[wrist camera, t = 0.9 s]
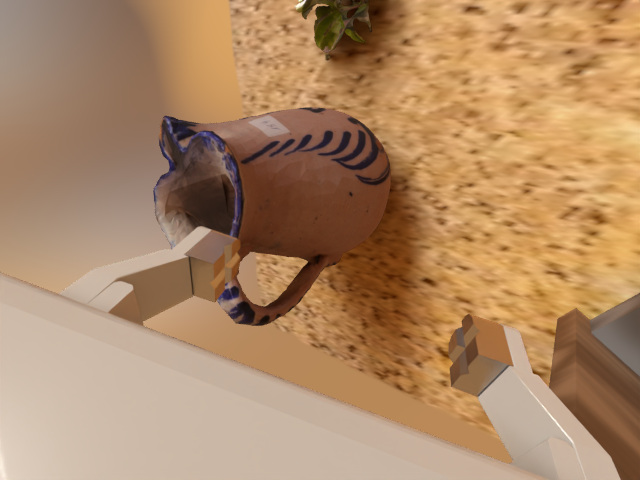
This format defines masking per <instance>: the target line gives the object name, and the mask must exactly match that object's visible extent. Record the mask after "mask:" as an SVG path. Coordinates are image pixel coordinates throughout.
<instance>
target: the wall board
mask: <svg viewBox="0 0 640 480" xmlns="http://www.w3.org/2000/svg"><path fill="white" fill-rule="evenodd" d="M549 388H550V389H551V391H552V392H553V393H554V394H555V395H556V396H557V397H558V398H559V399H560V401H561V402H562V403H563V404H564V405H565V406H566V407H567V408H568V410H569V411H570V412H571V413H572V414H573V415H574V416H575V417H576V418H577V420H578V421H579V422H580V423H581V424H582V425H583V426H584V427H585V429H586V430H587V431H588V432H589V433H590V434H591V435H592V436H593V438H594V439H595V440H596V441H597V442H598V443H599V444H600V445H601V446H602V448H603V449H604V450H605V451H606V452H607V453H608V454H609V455H610V457H611V458H612V461H613V463H614V465H615V468H616V470H617V472H618V475H619V477H620V479H621V480H640V293H639V294H637V295H635V296H634V297H632V298H630V299H628V300H626V301H625V302H623V303H621V304H619V305H617V306H615V307H614V308H612V309H610V310H608V311H606V312H605V313H603V314H601V315H599V316H597V317H595V318H594V319H592V320H589V319H588V318H587V317H586V316H585V315H583V314H582V313H581V312H580V311H579V310H578V309H577V308H576V309H574V310H572V311H570V312H569V313H567V314H565V315H564V316H562V317H560V318H559V319H558V320H557V328H556V336H555V344H554V352H553V360H552V369H551V377H550V385H549Z"/></svg>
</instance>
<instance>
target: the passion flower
mask: <svg viewBox="0 0 640 480" xmlns="http://www.w3.org/2000/svg"><path fill="white" fill-rule="evenodd" d="M298 1H299V2H300V3H299V4H298V5H296V6H295V8H296V10H297V12H302V16H303V18H304V19H307V18H306V17H307V15H308V14H309V12H310V10H312V7H313V6H315V5H316V4H327V5H329V6H327V7H326V6H319V7H317V8H316V10H315V12H316V17H317V20H316V21H315V25H314V31H315V37H314V38H315V42H316V44H317V46H318V47H319V48H320V49H321V50H324V52H325V59H326V60H329V59H330V58H331V57H330V56H329V52H330V51H332V50H333V49H335V47H336V45H337V43H338V41H339V40H340V39H341V37H342V35H343V33H344V32H346V34H347V35H349V36H350V37H351V38H352V39H353V40H355V41H357V42H361V43H362V42H364V43H365V42H366V41H365V40H364V39H363V38H362V37H361V36H360V35H359V34H358V33H357V32H356V31H355V29H354V27H353V20H354V19H355V18H357V19H358V20H359V21H361V22H362V21H363V22H365V23H367V25H368V26H369V30H370V32H372V29H371V24H370V21H369V15H368V6H369V2H368V0H361V1H360V2H356V1H354V0H351V1H352V4H351V5H350V6H344V5H343V4H342V3H341V0H298ZM354 8H358V10H357V11H356V12H355V14H354V15H353V16H352V17H351V18H350V19H348V18H347V12H348V11H349V10H350V9H354ZM342 30H343V31H342ZM329 50H330V51H329Z"/></svg>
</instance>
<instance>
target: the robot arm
mask: <svg viewBox="0 0 640 480" xmlns="http://www.w3.org/2000/svg"><path fill="white" fill-rule="evenodd" d="M239 249H240V240H239V239H237V238H235V237H232V236H229V235H226V234H223V233H220V232H218V231H215V230H211V229H208V228H205V227H203V226H200V227H197V228H196V229H195V230H194V231H192V232H191V233H190V234H189V235H188V236H187V237H186V238H184V239H183V240H182V241H181V242H180V243H179V244H177V245H176V246H175V247H174V248H173V249H172V250H168V249H166V250H162V251H158V252H154V253H151V254H147V255H143V256H139V257H136V258H133V259H129V260H125V261H121V262H118V263H114V264H110V265H107V266H103V267H99V268H95V269H92V270H91V271H90V272H88V273H87V274H85V275H84V276H83V277H81V278H80V279H78V280H77V281H75V282H74V283H73V284H71V285H70V286H69V287H67V288H66V289H64V290H63V291H62V292H60V293H59V294H57V293H54V292H52V291H49V290H46V289H44V288H41V287H39V286H36V285H33V284H31V283H28V282H25V281H23V280H20V279H17V278H15V277H12V276H9V275H7V274H4V273H1V272H0V480H621V479H620V477H619V475H618V472H617V470H616V468H615V465H614V463H613V461H612V458H611V457H610V455H609V454H608V453H607V452H606V451H605V450H604V449H603V448H602V446H601V445H600V444H599V443H598V442H597V441H596V440H595V439H594V438H593V436H592V435H591V434H590V433H589V432H588V431H587V430H586V429H585V427H584V426H583V425H582V424H581V423H580V422H579V421H578V420H577V418H576V417H575V416H574V415H573V414H572V413H571V412H570V411H569V410H568V408H567V407H566V406H565V405H564V404H563V403H562V402H561V401H560V399H559V398H558V397H557V396H556V395H555V394H554V393H553V392H552V391H551V389H550V388H549V387H548V386H547V385H546V384H545V383H544V382H543V380H542V379H541V378H540V377H539V376H538V375H535V374H533V372H532V369H531V366H530V363H529V360H528V357H527V354H526V350H525V347H524V344H523V341H522V338H521V335H520V332H519V331H518V330H517V329H516V328H512V327H509V326H506V325H503V324H498V323H495V322H492V321H489V320H486V319H483V318H480V317H477V316H474V315H470V314H468V315H467V316H465V317H464V319H463V320H462V328H459V329H456V330H455V332H454V333H453V335H452V336H451V339H450V342H449V357H450V359H451V360H452V362H453V365H452V366H451V367H450V377H451V387H454V388H456V389H459V390H462V391H464V392H467V393H469V394H472V395H475V396H477V397H478V400H479V402H480V403H481V405H482V407H483V409H484V411H485V412H486V414H487V416H488V418H489V419H490V421H491V423H492V425H493V426H494V428H495V430H496V432H497V433H498V435H499V437H500V439H501V441H502V442H503V444H504V446H505V448H506V449H507V451H508V453H509V455H510V456H511V458H512V460H513V462H511V463H510V464H508V463H505V462H502V461H500V460H497V459H494V458H492V457H489V456H486V455H484V454H481V453H478V452H476V451H473V450H470V449H468V448H465V447H462V446H459V445H457V444H454V443H452V442H449V441H447V440H444V439H441V438H439V437H436V436H433V435H431V434H428V433H425V432H422V431H420V430H417V429H415V428H412V427H409V426H407V425H404V424H401V423H399V422H396V421H393V420H391V419H388V418H386V417H383V416H380V415H377V414H375V413H372V412H370V411H367V410H364V409H362V408H359V407H356V406H353V405H351V404H348V403H346V402H343V401H340V400H338V399H335V398H332V397H330V396H327V395H324V394H322V393H319V392H316V391H314V390H311V389H308V388H306V387H303V386H301V385H298V384H295V383H293V382H290V381H287V380H285V379H282V378H279V377H277V376H274V375H272V374H269V373H266V372H264V371H261V370H258V369H256V368H253V367H250V366H248V365H245V364H242V363H240V362H237V361H235V360H232V359H229V358H227V357H224V356H221V355H219V354H216V353H213V352H211V351H208V350H205V349H203V348H200V347H197V346H195V345H192V344H190V343H187V342H184V341H182V340H179V339H176V338H174V337H171V336H168V335H165V334H163V333H160V332H158V331H155V330H152V329H150V328H147V327H145V326H143V321H145V320H147V319H149V318H151V317H153V316H155V315H157V314H159V313H161V312H163V311H165V310H167V309H169V308H171V307H173V306H175V305H177V304H179V303H181V302H183V301H185V300H187V299H189V298H191V297H193V295H194V296H197V297H200V298H203V299H206V300H209V301H212V302H216V301H217V299H218V298H219V297H220V295H221V294H222V293H223V292H224V290H225V284H226V283H228V282H231V281H232V280H233V278H234V277H235V276H236V273H237V271H238V269H239V265H240V256H239V255H238V253H237V252H238V250H239Z"/></svg>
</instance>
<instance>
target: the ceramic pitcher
mask: <svg viewBox="0 0 640 480" xmlns="http://www.w3.org/2000/svg"><path fill="white" fill-rule="evenodd" d="M159 145H160V148H161V151H162V154H163V156H164V157H165V158H166V159H167V160H169V166H170V168H169V172H168V173H166V174H164V175H162V176H161V177H160V179H159V180H158V182H157V184H156V186H155V188H154V201H155V214H156V218H157V221H158V222H159V224H160V226H161V229H162V231H163V232H164V233H165V235H166V238H167V240H168V242H169V243H170V245H171V250H172V249H173V248H174V247H175V246H176V245H177V244H179V243H180V242H181V241H182V240H183V239H184V238H186V237H187V236H188V235H189V234H190V233H191V232H192V231H194V230H195V229H196V228H197V227H200V226H203V227H205V228H208V229H211V230H215V231H218V232H220V233H223V234H226V235H229V236H232V237H235V238H237V239H239V240H240V249H239V250H238V252H237V253H238V255H239V256H240V261H242V259H243V258H244V257H245V256H246V255H248V254H249V252H256V253H264V254H272V255H280V256H286V257H299V258H302V259H305V260H307V261H308V263H307V264H306V265H305V266H304V267H303V268H302V269H301V271H300V272H299V274H298V275H297V276H296V277H295V278H294V280H293V281H292V282H291V284H290V285H289V286H288V287H287V289H286V290H285V291H284V292H283V293H282V294H281V295H280V296H279V298H278V299H276V300H275V301H274V302H272V303H270V304H269V305H267V306H265V307H264V306H258V305H256V304H253V303H252V302H250V300H249V299H248V298H247V297H246V295H245V294H244V292H243V291H242V288H241V286H240V284H239V282H238V280H237V275H238V273H239V269H238V271H237V273H236V276H235V277H234V278H233V280H232V281H231V282H228V283H226V284H225V290H224V292H223V293H222V294H221V295H220V297H219V298H218V299H217V301H218V303H219V305H220V306H221V307H222V309H223V310H224V311H225V312H226V313H227V314H228V315H229V316H230V317H231V318H232V319H233V320H234V321H235V323H238V324H246V325H252V326H261V325H265V324H268V323H271V321H274V320H275V319H277V318H279V317H281V316H284V315H285V314H286V313H287V312H289V311H290V310H291V309H292V308H294V307H295V306H296V305H297V304H298V303H299V302H300V301H301V299H302V298H303V296H304V295H305V294H306V293H307V291H308V290H309V289H310V288H311V286H312V284H313V283H314V282H315V280H316V279H317V277H318V276H319V274H320V272H321V271H322V270H323V269H324V268H325V267H328V266H332V265H335V264H337V263H338V262H339V260H340V259H341V256H342V254H343V253H345V252H347V251H349V250H351V249H353V248H355V247H356V246H358V245H359V244H361V243H362V242H364V241H365V240H366V239H367V238H368V237H369V236H370V235H371V234H372V233H373V232H374V231H375V229H376V228H377V226H378V225H379V223H380V221H381V219H382V217H383V214H384V211H385V208H386V204H387V201H388V197H389V191H390V182H391V172H390V163H389V159H388V156H387V154H386V152H385V150H384V148H383V146H382V144H381V143H380V142H379V140H378V139H377V138H376V136H375V135H374V134H373V133H372V132H371V131H370V130H369V129H368V128H367V127H366V126H365V125H364V124H362V123H361V122H360V121H358V120H356V119H355V118H353V117H351V116H349V115H347V114H345V113H342V112H339V111H335V110H331V109H326V108H299V109H291V110H283V111H277V112H271V113H267V114H263V115H259V116H252V117H247V118H243V119H239V120H235V121H229V122H223V123H210V124H199V123H194V122H188V121H183V120H178V119H176V118H174V117H169V116H164V117H163V119H162V122H161V125H160V135H159Z"/></svg>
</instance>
